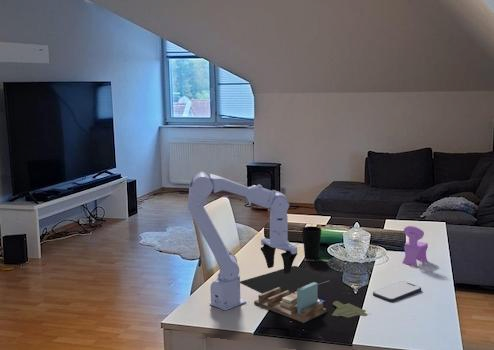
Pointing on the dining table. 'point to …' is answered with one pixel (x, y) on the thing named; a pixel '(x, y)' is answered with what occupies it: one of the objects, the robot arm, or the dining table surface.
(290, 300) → the offcut top
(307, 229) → the cup
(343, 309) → the olive flat irregular piece
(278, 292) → the rack
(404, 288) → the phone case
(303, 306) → the board
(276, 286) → the tablet
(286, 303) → the offcut low
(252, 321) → the dining table surface
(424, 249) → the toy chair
